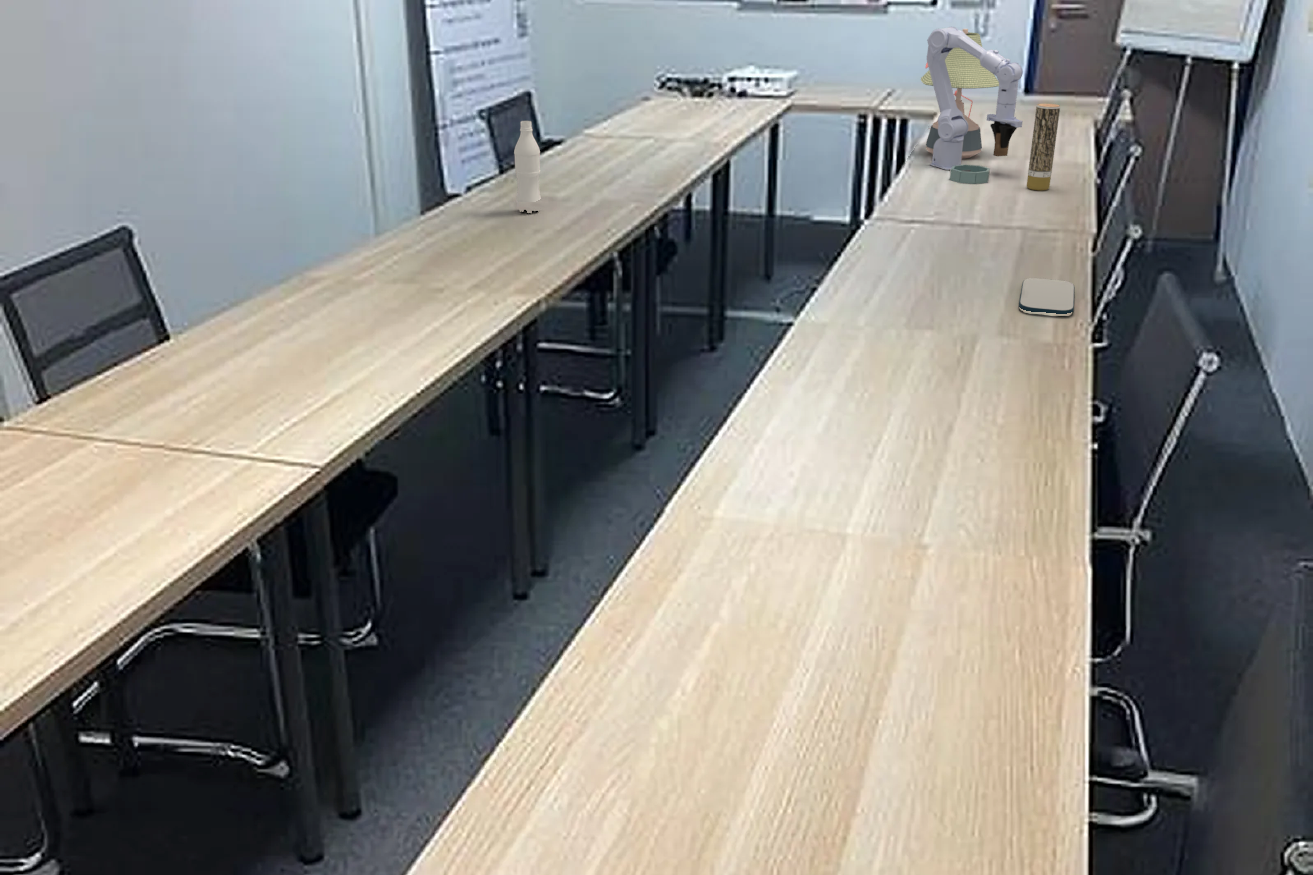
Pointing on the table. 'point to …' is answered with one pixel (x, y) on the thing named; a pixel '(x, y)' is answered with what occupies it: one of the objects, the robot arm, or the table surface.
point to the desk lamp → (962, 75)
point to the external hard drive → (1047, 296)
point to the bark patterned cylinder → (1043, 146)
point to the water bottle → (527, 165)
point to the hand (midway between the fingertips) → (1001, 147)
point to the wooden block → (999, 147)
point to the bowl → (970, 174)
